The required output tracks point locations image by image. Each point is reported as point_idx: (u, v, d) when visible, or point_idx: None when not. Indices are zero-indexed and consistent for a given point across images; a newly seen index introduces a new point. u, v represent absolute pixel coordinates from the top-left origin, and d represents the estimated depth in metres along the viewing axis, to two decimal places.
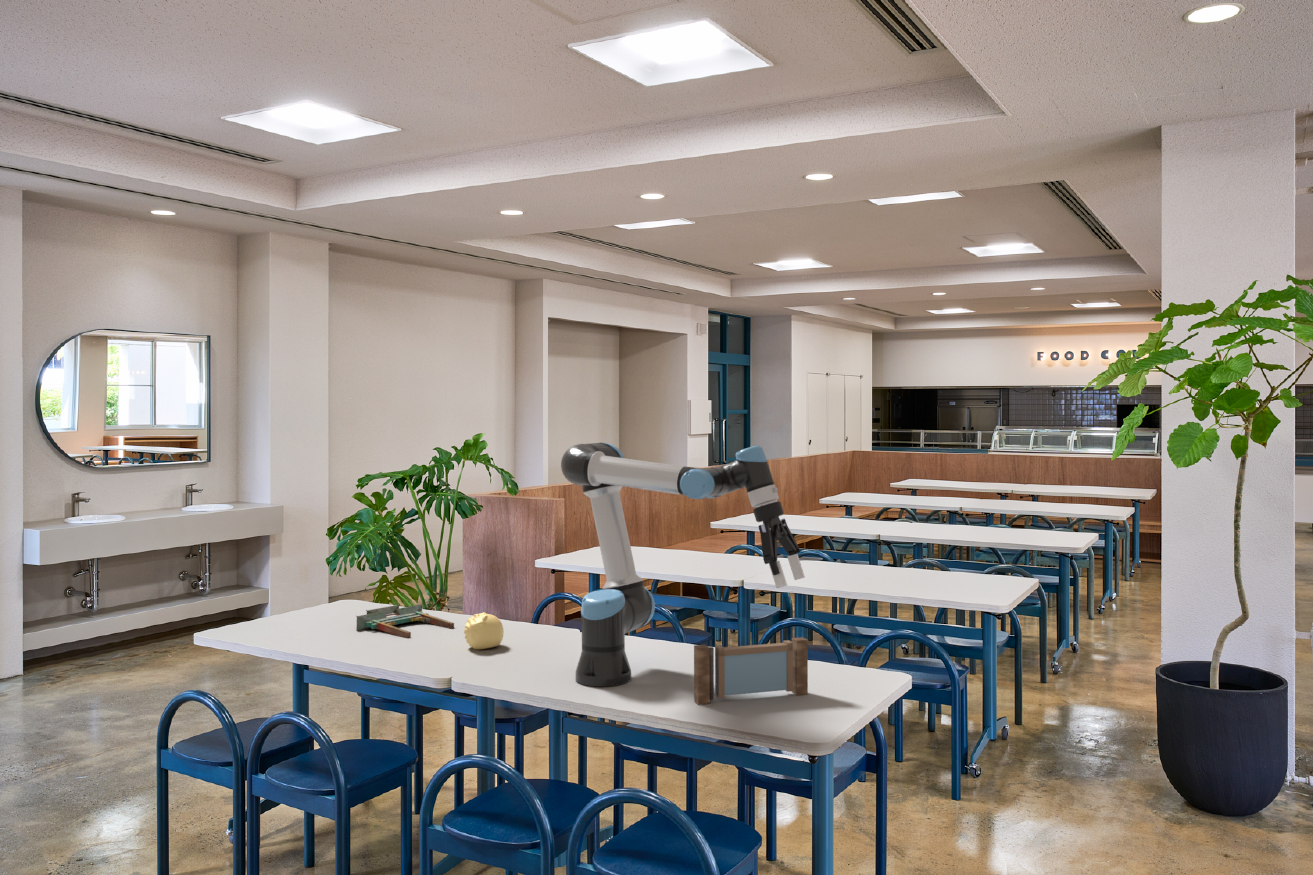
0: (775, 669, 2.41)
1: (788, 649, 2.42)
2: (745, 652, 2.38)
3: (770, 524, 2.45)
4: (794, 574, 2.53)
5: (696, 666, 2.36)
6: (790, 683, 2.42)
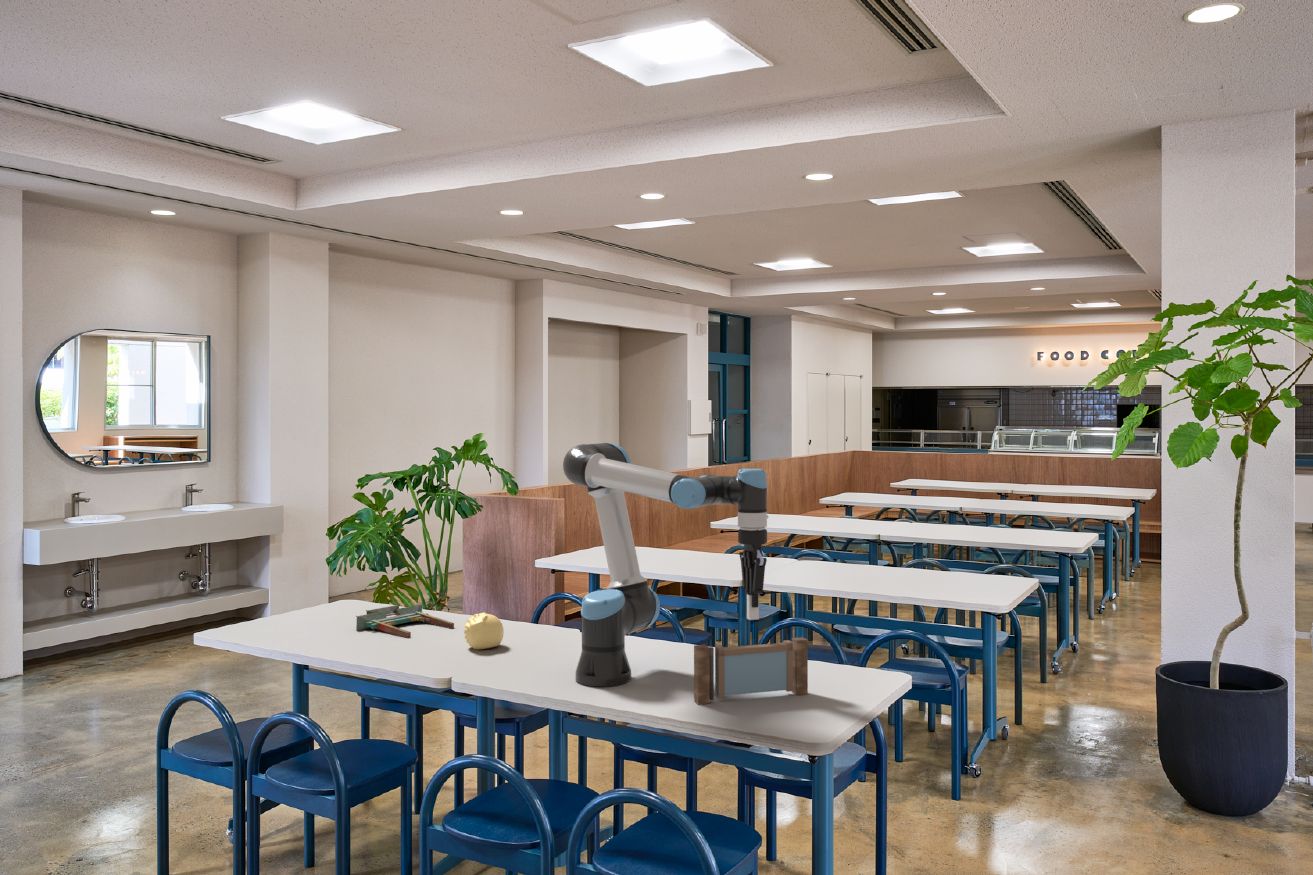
0: (775, 669, 2.41)
1: (788, 649, 2.42)
2: (745, 652, 2.38)
3: (761, 552, 2.44)
4: None
5: (696, 666, 2.36)
6: (790, 683, 2.42)
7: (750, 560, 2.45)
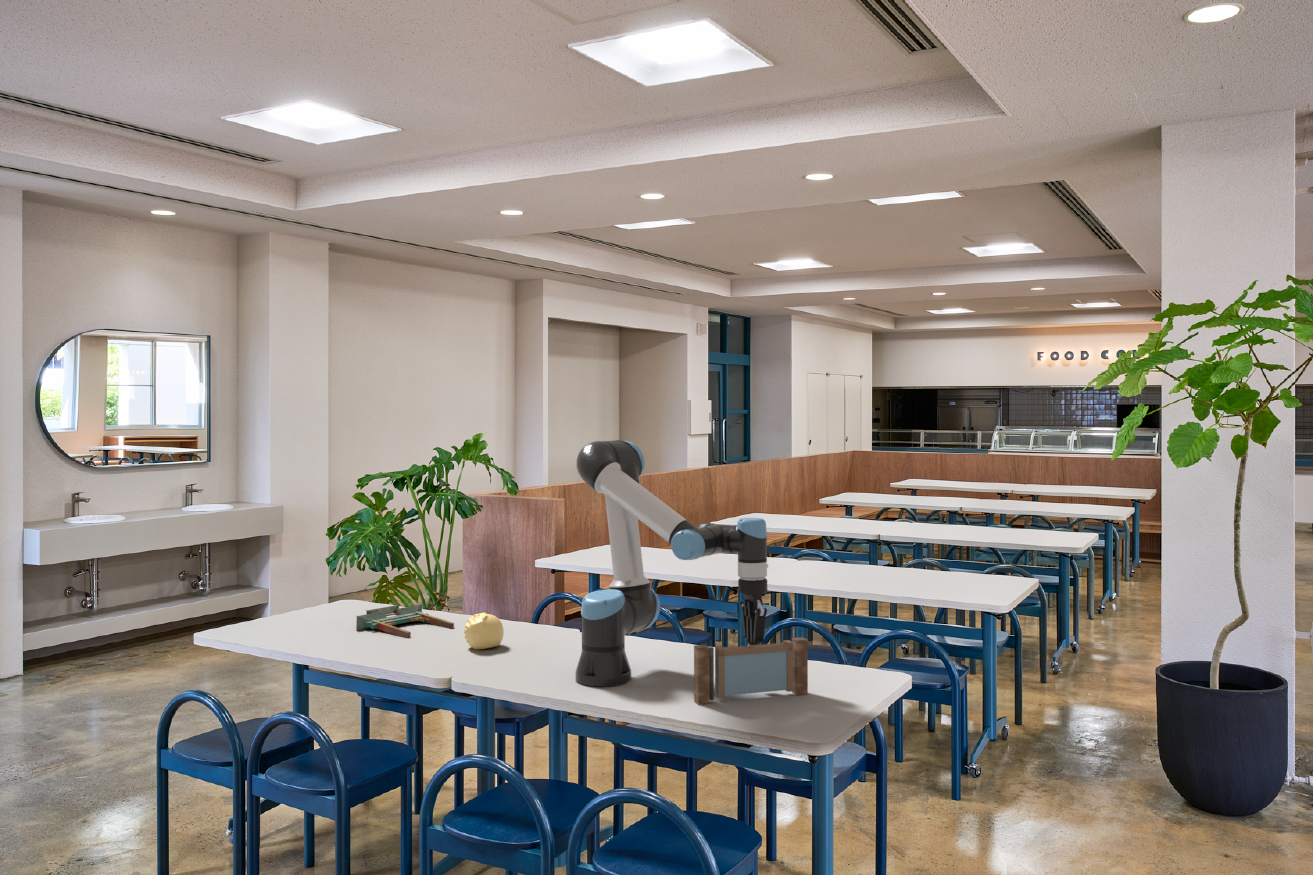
0: (775, 669, 2.41)
1: (788, 649, 2.42)
2: (745, 652, 2.38)
3: (762, 602, 2.44)
4: None
5: (696, 666, 2.36)
6: (790, 683, 2.42)
7: (750, 610, 2.46)
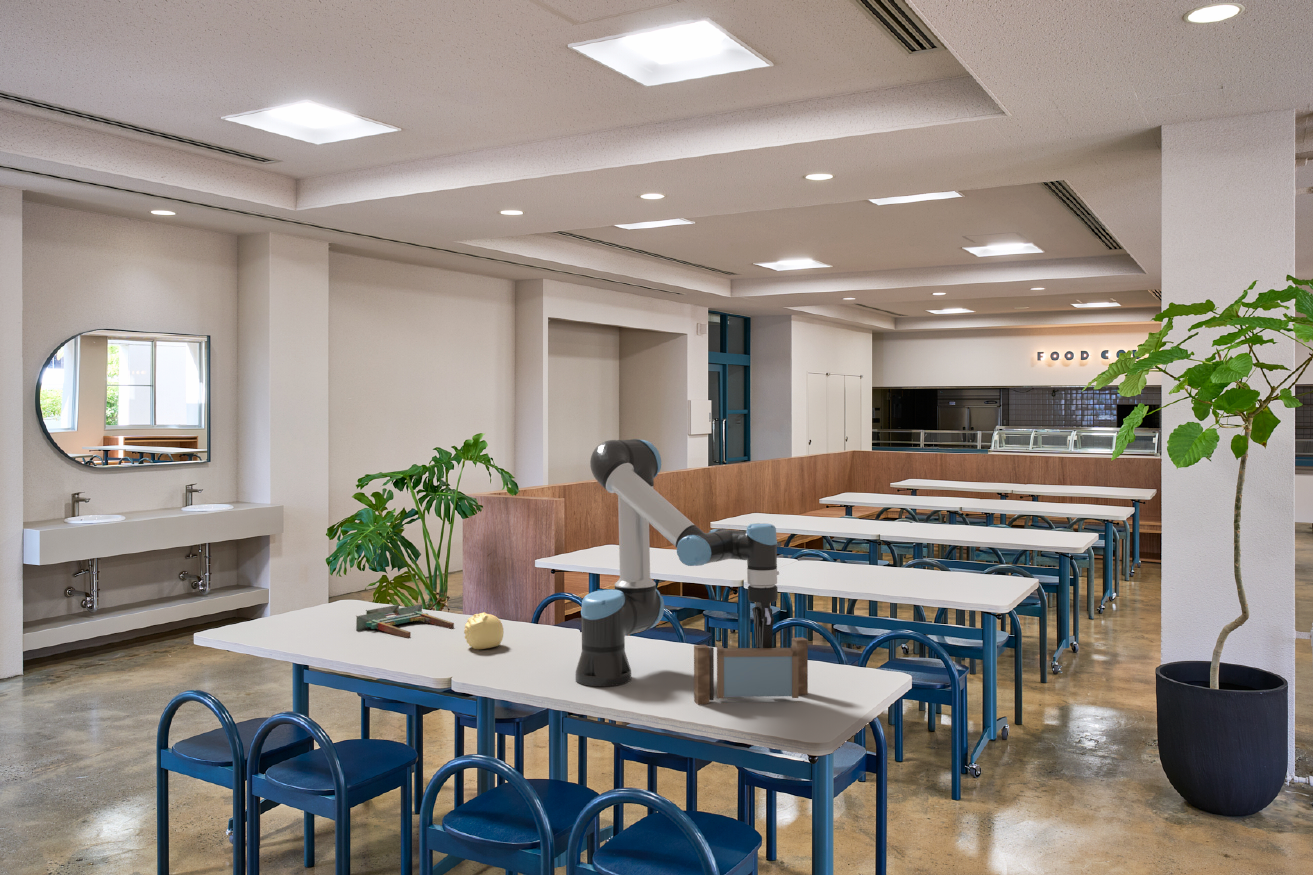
0: (779, 674, 2.37)
1: (793, 655, 2.36)
2: (746, 654, 2.36)
3: (770, 611, 2.39)
4: None
5: (696, 666, 2.36)
6: (795, 690, 2.36)
7: (759, 618, 2.40)
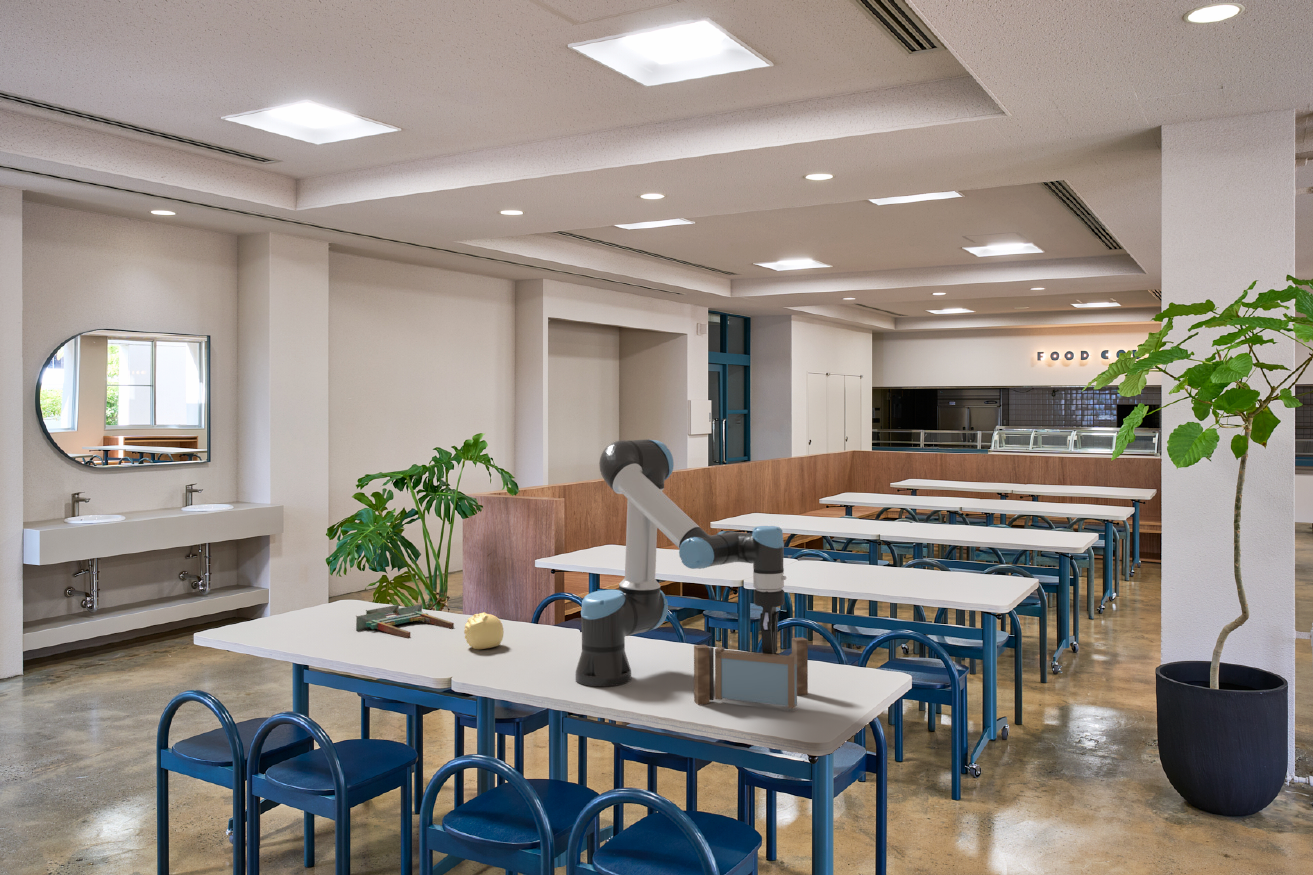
0: (775, 682, 2.30)
1: (789, 663, 2.28)
2: (742, 658, 2.33)
3: (770, 616, 2.33)
4: None
5: (696, 666, 2.36)
6: (791, 700, 2.28)
7: None
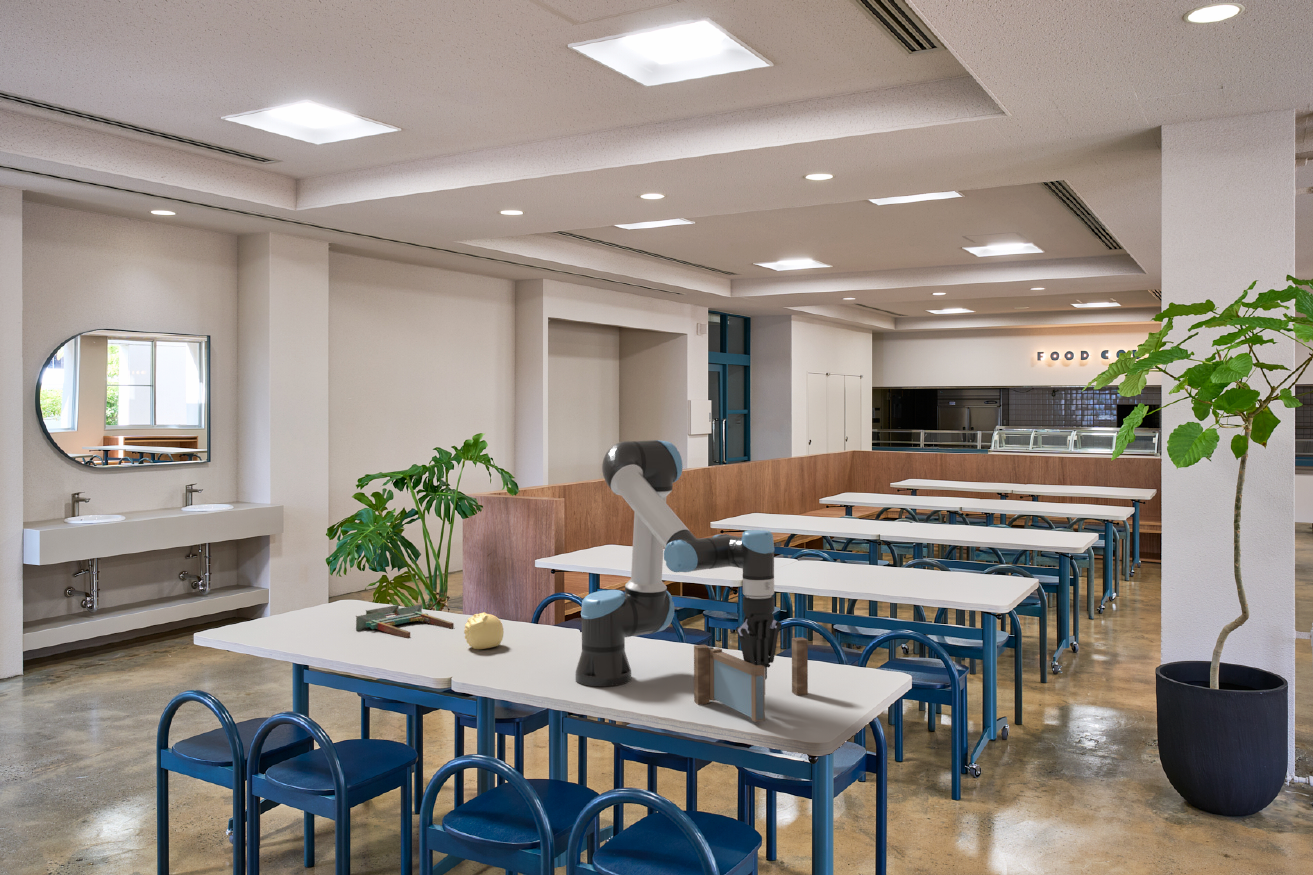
0: (745, 691, 2.22)
1: (752, 674, 2.19)
2: (725, 662, 2.29)
3: (749, 623, 2.25)
4: None
5: (696, 666, 2.36)
6: (753, 712, 2.18)
7: None
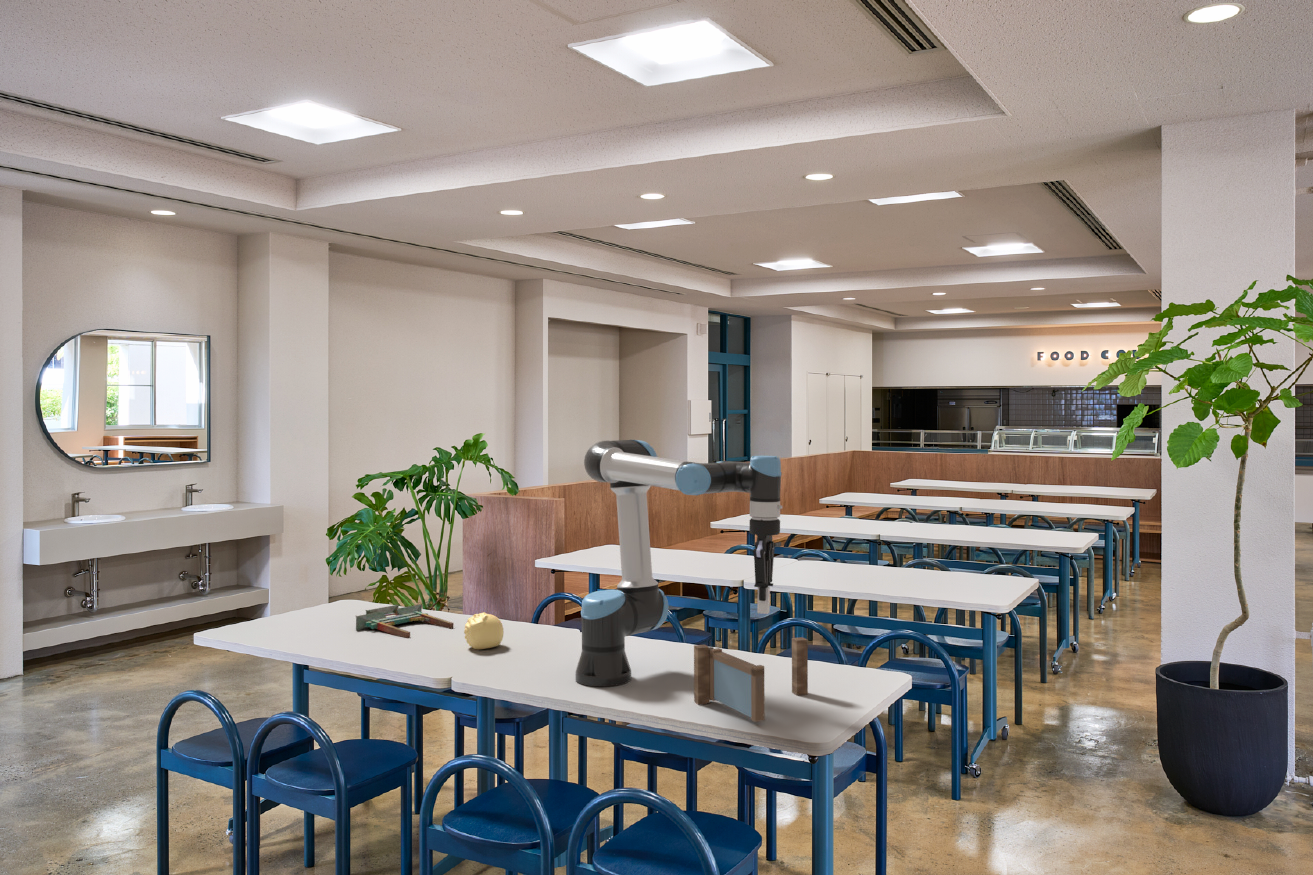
0: (744, 691, 2.22)
1: (751, 674, 2.19)
2: (725, 662, 2.29)
3: (764, 544, 2.32)
4: None
5: (696, 666, 2.36)
6: (753, 712, 2.18)
7: None
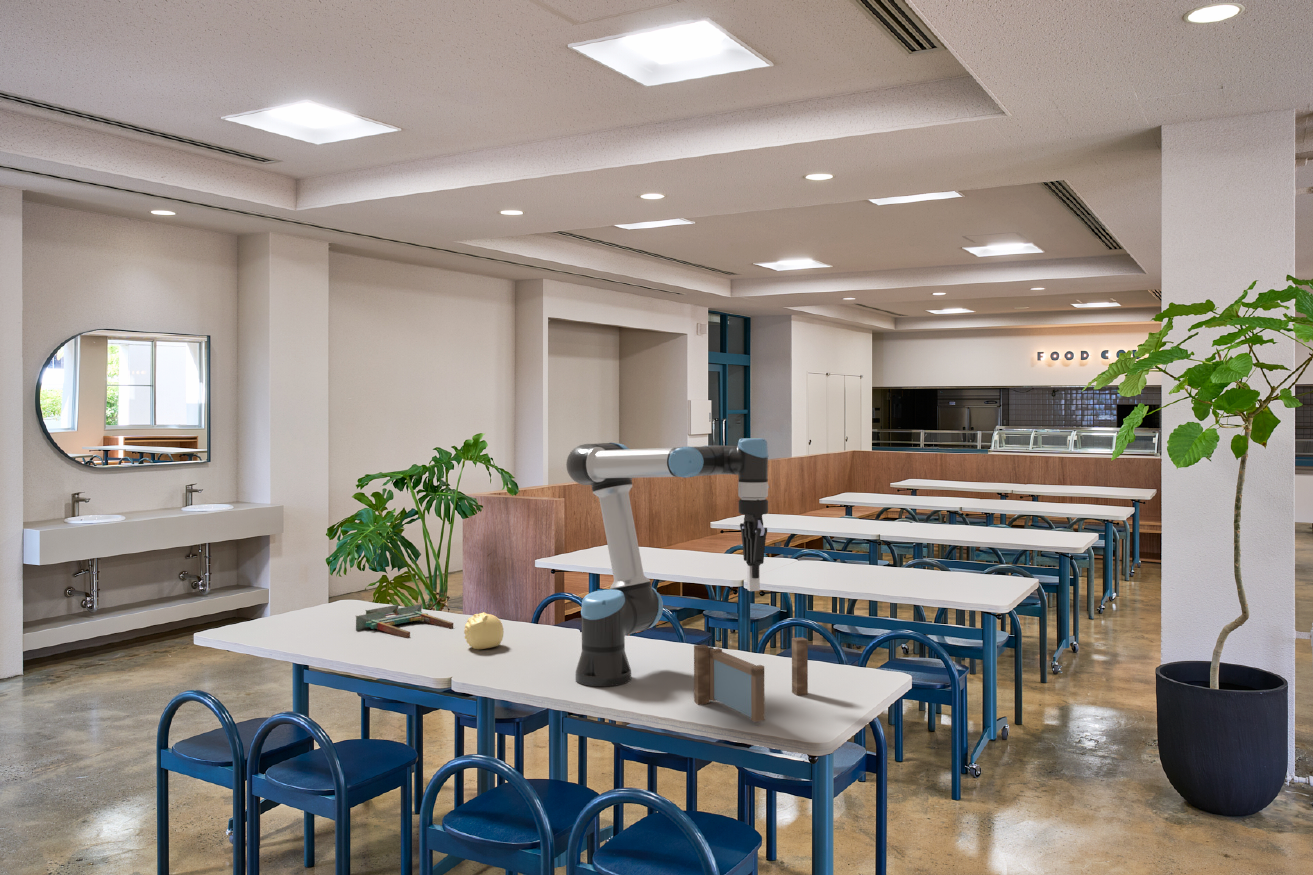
0: (744, 691, 2.22)
1: (751, 674, 2.19)
2: (725, 662, 2.29)
3: (762, 523, 2.41)
4: None
5: (696, 666, 2.36)
6: (753, 712, 2.18)
7: (751, 530, 2.42)
